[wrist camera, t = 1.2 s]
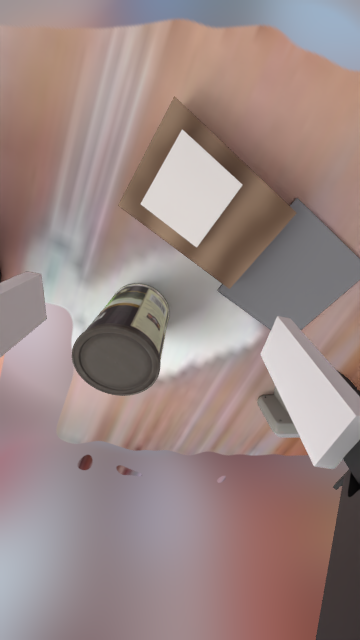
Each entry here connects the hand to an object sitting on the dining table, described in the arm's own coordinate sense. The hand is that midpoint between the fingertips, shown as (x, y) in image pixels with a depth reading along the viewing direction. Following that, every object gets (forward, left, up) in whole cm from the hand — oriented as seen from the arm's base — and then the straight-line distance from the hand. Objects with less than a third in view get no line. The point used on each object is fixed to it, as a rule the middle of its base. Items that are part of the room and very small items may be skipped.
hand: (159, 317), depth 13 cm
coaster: (-3, +6, -19) cm, 20 cm away
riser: (0, +6, -23) cm, 24 cm away
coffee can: (+1, -13, -23) cm, 26 cm away
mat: (+17, +6, -23) cm, 29 cm away
